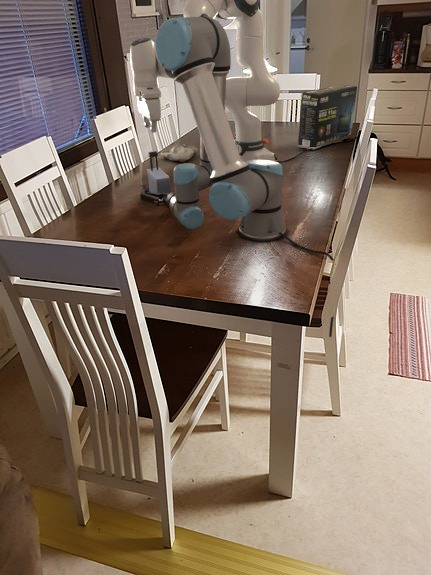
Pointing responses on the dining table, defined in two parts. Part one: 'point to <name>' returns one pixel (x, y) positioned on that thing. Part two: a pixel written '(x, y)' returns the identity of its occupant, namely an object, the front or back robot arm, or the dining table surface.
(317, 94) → the router box
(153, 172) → the grey long flat panel
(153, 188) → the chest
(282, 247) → the dining table surface
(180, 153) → the fossil
